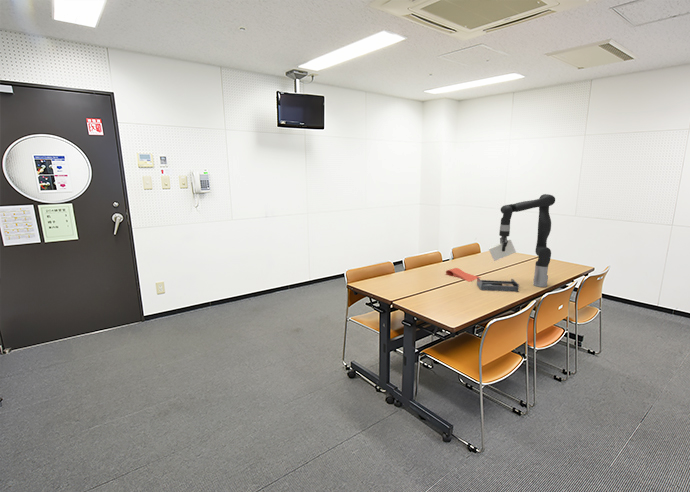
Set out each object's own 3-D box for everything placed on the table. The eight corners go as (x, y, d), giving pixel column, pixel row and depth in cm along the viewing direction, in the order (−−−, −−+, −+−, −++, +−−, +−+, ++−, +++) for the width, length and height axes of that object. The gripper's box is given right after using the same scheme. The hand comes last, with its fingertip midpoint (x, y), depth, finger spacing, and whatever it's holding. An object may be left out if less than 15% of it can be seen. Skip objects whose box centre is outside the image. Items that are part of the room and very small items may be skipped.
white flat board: (515, 251, 286) (509, 239, 285) (516, 252, 284) (510, 240, 282) (493, 260, 290) (488, 248, 289) (494, 261, 287) (489, 249, 286)
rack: (511, 285, 288) (512, 278, 287) (518, 291, 273) (518, 284, 272) (476, 284, 292) (477, 277, 291) (481, 290, 277) (481, 282, 276)
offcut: (512, 286, 279) (512, 284, 279) (513, 288, 275) (513, 286, 275) (501, 286, 281) (501, 283, 280) (502, 287, 276) (503, 285, 276)
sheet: (441, 275, 318) (456, 271, 334) (471, 286, 297) (485, 281, 312) (442, 270, 317) (457, 265, 332) (472, 280, 295) (486, 275, 311)
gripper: (512, 231, 276) (510, 252, 279) (506, 229, 289) (505, 249, 292) (502, 231, 277) (500, 252, 280) (497, 228, 290) (495, 249, 293)
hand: (502, 250), depth 286 cm, fingers closed on white flat board, 2 cm apart
